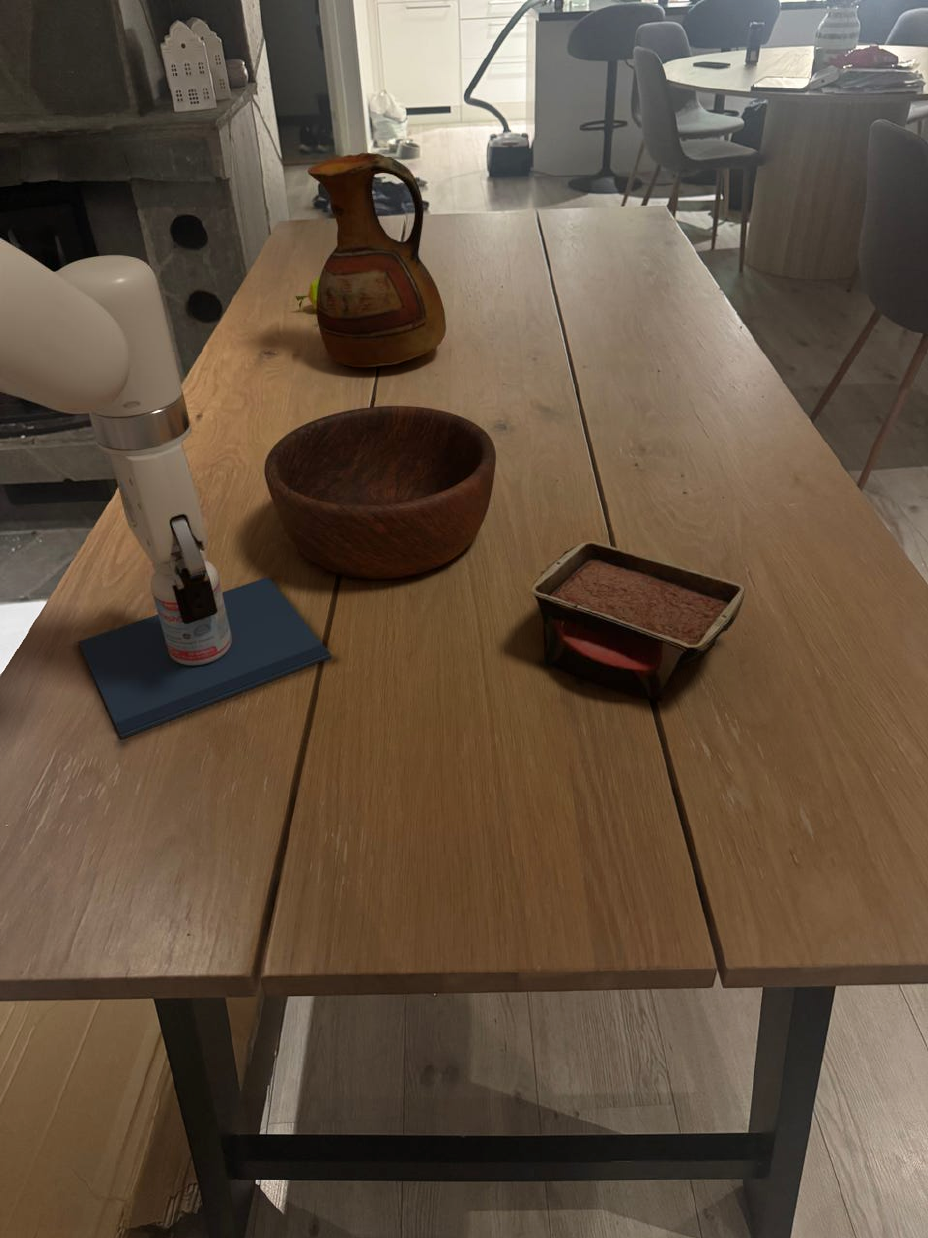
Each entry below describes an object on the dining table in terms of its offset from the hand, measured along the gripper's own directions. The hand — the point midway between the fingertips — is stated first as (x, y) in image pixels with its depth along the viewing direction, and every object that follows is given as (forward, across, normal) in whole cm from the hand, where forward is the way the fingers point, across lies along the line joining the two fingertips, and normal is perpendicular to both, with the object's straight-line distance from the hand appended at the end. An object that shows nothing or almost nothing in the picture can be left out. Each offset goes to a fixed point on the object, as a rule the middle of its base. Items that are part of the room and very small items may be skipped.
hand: (188, 597), depth 86 cm
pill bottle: (+6, 0, 0) cm, 6 cm away
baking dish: (+7, +23, +34) cm, 42 cm away
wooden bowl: (+7, -9, +25) cm, 27 cm away
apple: (+6, -85, +51) cm, 99 cm away
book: (+6, 0, 0) cm, 6 cm away
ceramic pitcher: (+6, -58, +50) cm, 77 cm away
